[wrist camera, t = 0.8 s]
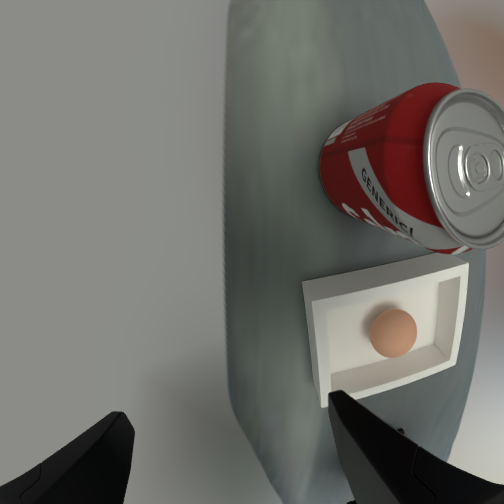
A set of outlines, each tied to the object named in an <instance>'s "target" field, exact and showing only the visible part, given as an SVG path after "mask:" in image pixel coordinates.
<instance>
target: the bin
mask: <svg viewBox="0 0 504 504" xmlns="http://www.w3.org/2000/svg"><path fill="white" fill-rule="evenodd" d="M468 267H469V263H468V262H466V261H464V260H461V259H459V258H457V257H455V256H453V255H450V254H441V253H433V254H429V255H424V256H420V257H416V258H412V259H407V260H403V261H398V262H394V263H390V264H385V265H380V266H376V267H371V268H367V269H362V270H357V271H352V272H347V273H343V274H338V275H333V276H328V277H323V278H318V279H312V280H307V281H302V287H303V295H304V302H305V310H306V319H307V327H308V335H309V344H310V353H311V363H312V373H313V381H314V385H315V388H316V391H317V395H318V398H319V401H320V405H321V408H324V407H328V393H329V392H332V391H336V390H343V391H344V392H346V393H347V394H348V395H350V396H351V397H352V398H354V399H355V400H356V399H360V398H363V397H367V396H370V395H374V394H377V393H380V392H384V391H387V390H390V389H393V388H396V387H399V386H402V385H405V384H408V383H410V382H413V381H416V380H419V379H421V378H424V377H427V376H429V375H432V374H434V373H437V372H439V371H442V370H444V369H446V368H449V367H451V366H453V365H455V364H456V360H457V355H458V350H459V344H460V339H461V333H462V327H463V320H464V312H465V304H466V294H467V282H468ZM390 309H400V310H403V311H406V312H407V313H409V314H410V315H411V316H412V317H413V319H414V321H415V323H416V326H417V338H416V341H415V343H414V345H413V347H412V348H411V349H410V350H409V351H408V352H407V353H406V354H404V355H402V356H400V357H397V358H388V357H384V356H382V355H380V354H379V353H378V352H377V351H376V350H375V349H374V348H373V346H372V344H371V340H370V330H371V326H372V324H373V322H374V320H375V319H376V318H377V317H378V316H379V315H380V314H381V313H383V312H384V311H386V310H390Z"/></svg>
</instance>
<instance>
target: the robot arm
mask: <svg viewBox="0 0 504 504" xmlns="http://www.w3.org/2000/svg"><path fill="white" fill-rule="evenodd" d="M328 411H329V418H330V422H331V426H332V430H333V435H334V439H335V443H336V448H337V452H338V456H339V459H340V462H341V465H342V467H343V470H344V472H345V475H346V478H347V480H348V483H349V485H350V488H351V491H352V493H353V496H354V498H355V500H354V501H350V502H347V504H504V485H502V484H501V485H500V484H496V483H492V482H489V481H486V480H484V479H482V478H479V477H477V476H475V475H472V474H470V473H468V472H465V471H463V470H461V469H459V468H456V467H455V466H453V465H451V464H449V463H447V462H445V461H443V460H441V459H439V458H438V457H436V456H434V455H433V454H431V453H430V452H428V451H427V450H425V449H424V448H422V447H421V446H420V447H418V444H416V443H415V442H413V441H412V440H410V439H409V438H407V437H406V436H405V435H404V430H403V429H399V430H396V429H395V428H393V427H392V426H390V425H389V424H388V423H386V422H385V421H383V420H382V419H381V418H379V417H378V416H377V415H375V414H374V413H372V412H371V411H370V410H368V409H367V408H366V407H364V406H363V405H362V404H360V403H359V402H358V401H356V400H355V399H354V398H352V397H351V396H350V395H348V394H347V393H346V392H344V391H343V390H336V391H332V392H329V393H328ZM134 437H135V431H134V428H133V426H132V425H131V423H130V421H129V420H128V418H127V416H126V414H125V413H124V412H117V411H113V412H111V413H110V414H108V415H107V416H105V417H104V418H103V419H101V420H100V421H99V422H97V423H96V424H95V425H93V426H92V427H90V428H89V429H88V430H86V431H85V432H84V433H82V434H81V435H79V436H78V437H77V438H75V439H74V440H73V441H71V442H70V443H68V444H67V445H66V446H64V447H63V448H61V449H60V450H58V451H57V452H56V453H54V454H53V455H51V456H50V457H49V458H47V459H46V460H44V461H43V462H42V463H40V464H38V465H37V466H35V467H34V468H32V469H31V470H29V471H28V472H26V473H24V474H23V475H21V476H19V477H17V478H15V479H14V480H12V481H10V482H8V483H6V484H4V485H2V486H0V504H123V502H124V497H125V493H126V488H127V484H128V479H129V475H130V470H131V461H132V453H133V445H134Z"/></svg>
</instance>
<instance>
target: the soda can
mask: <svg viewBox="0 0 504 504" xmlns="http://www.w3.org/2000/svg"><path fill="white" fill-rule="evenodd" d="M319 171H320V178H321V182H322V185H323V188H324V190H325V192H326V194H327V196H328V197H329V199H330V200H331V201H332V203H333V204H334V205H335V206H336V207H337V208H338V209H340V210H341V211H342V212H344V213H345V214H347V215H349V216H351V217H354V218H356V219H359V220H361V221H364V222H366V223H369V224H371V225H374V226H376V227H378V228H381V229H383V230H386V231H388V232H390V233H393V234H395V235H397V236H400V237H402V238H404V239H407V240H409V241H411V242H413V243H416V244H418V245H420V246H422V247H425V248H427V249H429V250H432V251H434V252H437V253H441V254H460V253H464V252H467V251H469V250H471V249H489V248H492V247H495V246H496V245H498V244H500V243H501V242H502V241H504V109H503V107H502V106H501V105H500V104H499V103H498V102H497V101H495V100H494V99H493V98H492V97H490V96H489V95H487V94H485V93H484V92H481V91H479V90H475V89H460V88H458V87H455V86H452V85H450V84H445V83H427V84H422V85H420V86H417V87H415V88H412V89H410V90H408V91H406V92H404V93H402V94H400V95H398V96H396V97H394V98H392V99H390V100H388V101H386V102H384V103H382V104H380V105H378V106H376V107H375V108H373V109H371V110H369V111H367V112H365V113H363V114H361V115H359V116H357V117H356V118H354V119H352V120H350V121H348V122H346V123H345V124H343V125H341V126H339V127H338V128H337V129H335V130H334V131H333V132H332V133H331V134H330V136H329V137H328V138H327V140H326V142H325V144H324V146H323V148H322V151H321V155H320V162H319Z"/></svg>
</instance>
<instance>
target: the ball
mask: <svg viewBox="0 0 504 504" xmlns="http://www.w3.org/2000/svg"><path fill="white" fill-rule="evenodd" d="M416 338H417V326H416V323H415V321H414V319H413V317H412V316H411V315H410V314H409V313H407V312H406V311H403V310H400V309H390V310H386V311H384V312H383V313H381V314H380V315H379V316H378V317H377V318H376V319H375V320H374V322H373V324H372V326H371V330H370V340H371V344H372V346H373V348H374V349H375V350H376V351H377V352H378V353H379V354H380V355H382V356H384V357H388V358H397V357H400V356H402V355H404V354H406V353H407V352H408V351H409V350H410V349H411V348H412V347H413V345H414V343H415V341H416Z"/></svg>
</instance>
